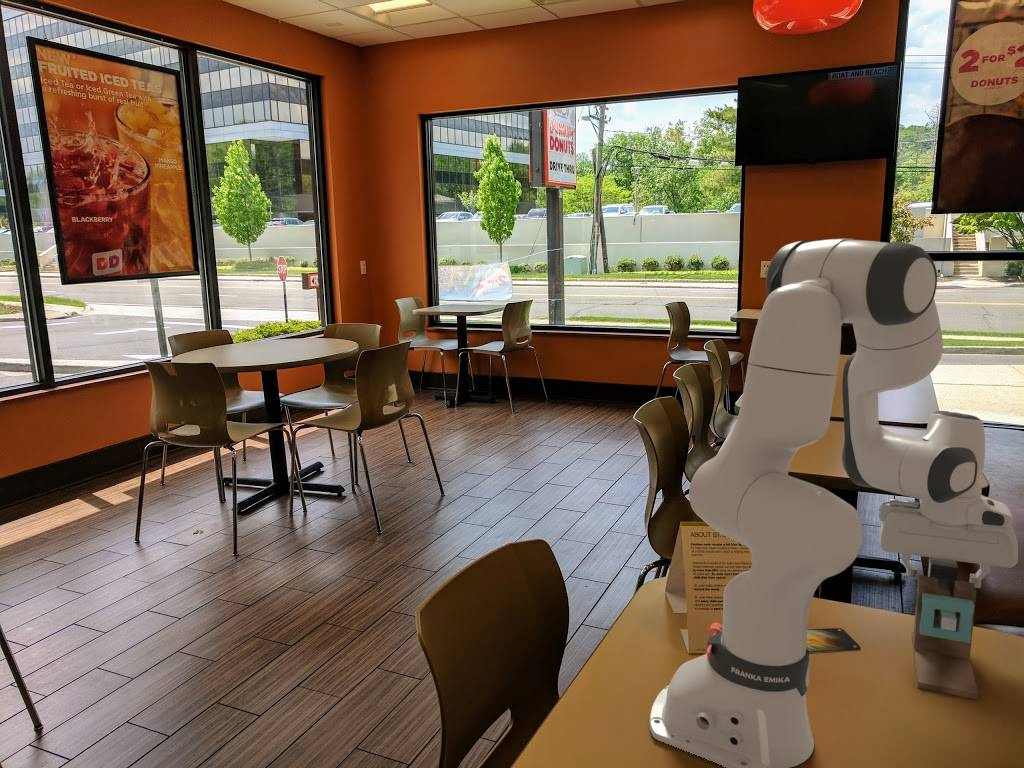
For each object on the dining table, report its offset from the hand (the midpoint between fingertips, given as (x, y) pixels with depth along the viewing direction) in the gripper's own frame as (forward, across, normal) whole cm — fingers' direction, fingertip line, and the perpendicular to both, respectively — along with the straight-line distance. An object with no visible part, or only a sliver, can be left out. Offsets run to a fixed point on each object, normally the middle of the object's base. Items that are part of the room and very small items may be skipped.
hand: (942, 581), depth 126 cm
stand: (+10, 0, -10) cm, 14 cm away
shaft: (+3, 0, -6) cm, 7 cm away
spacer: (+5, 0, -9) cm, 11 cm away
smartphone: (+11, -20, -10) cm, 25 cm away
